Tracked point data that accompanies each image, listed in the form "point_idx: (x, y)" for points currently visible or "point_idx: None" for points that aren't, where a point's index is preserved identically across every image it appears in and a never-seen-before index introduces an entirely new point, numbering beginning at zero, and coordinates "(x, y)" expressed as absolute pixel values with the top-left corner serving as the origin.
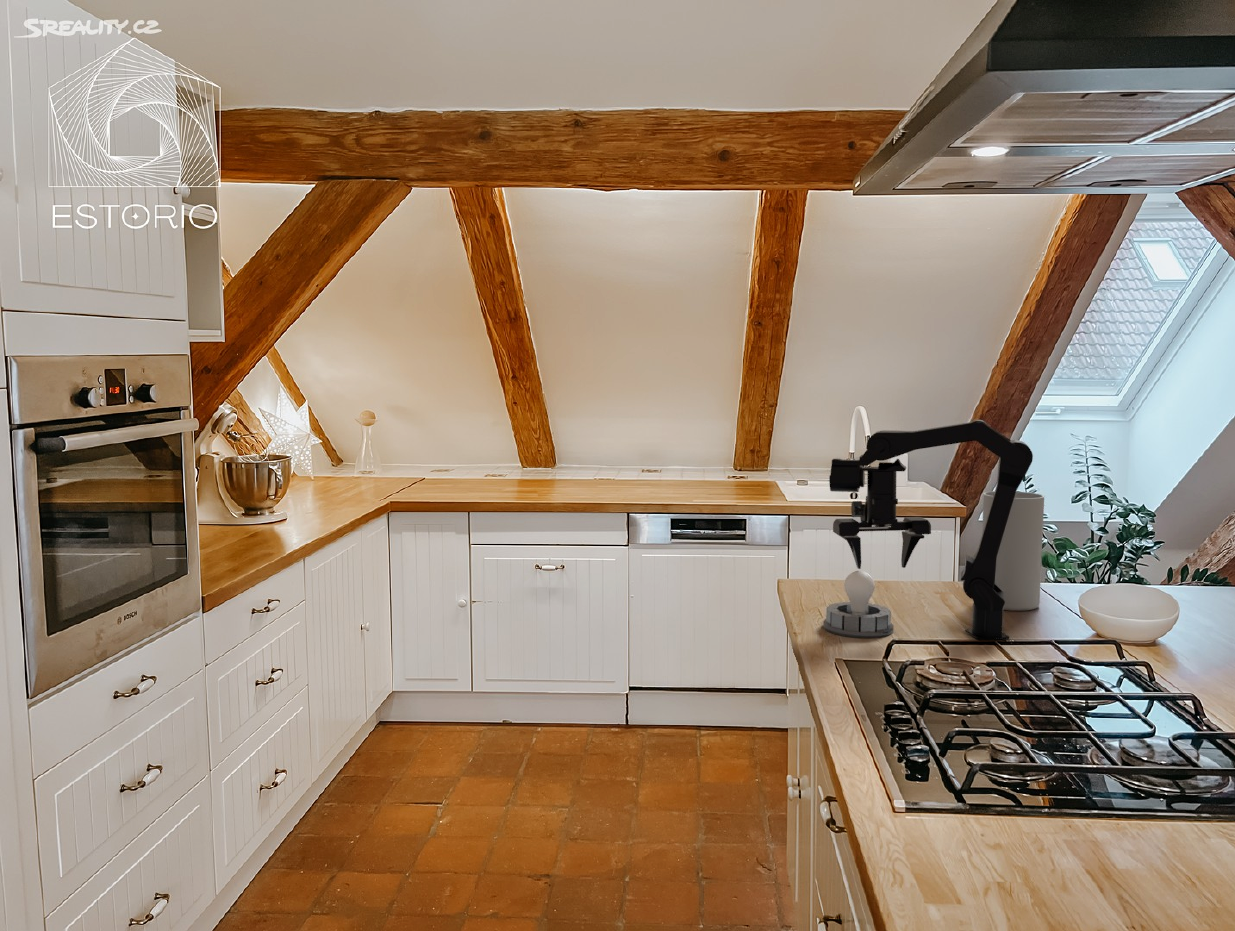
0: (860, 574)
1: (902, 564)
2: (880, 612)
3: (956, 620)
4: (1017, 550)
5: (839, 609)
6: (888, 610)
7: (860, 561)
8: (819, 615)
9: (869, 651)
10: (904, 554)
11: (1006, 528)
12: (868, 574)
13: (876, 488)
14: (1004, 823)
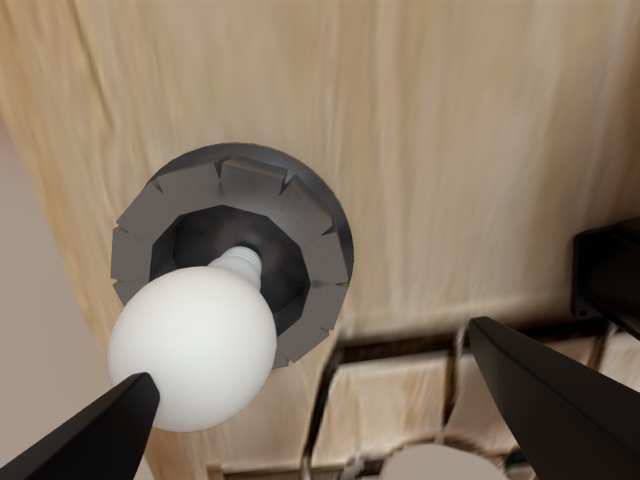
0: (179, 431)
1: (479, 349)
2: (308, 308)
3: (615, 78)
4: None
5: (160, 237)
6: (340, 278)
7: (132, 469)
8: (94, 96)
9: (276, 423)
10: (542, 458)
11: None
12: (226, 400)
13: None
14: None
